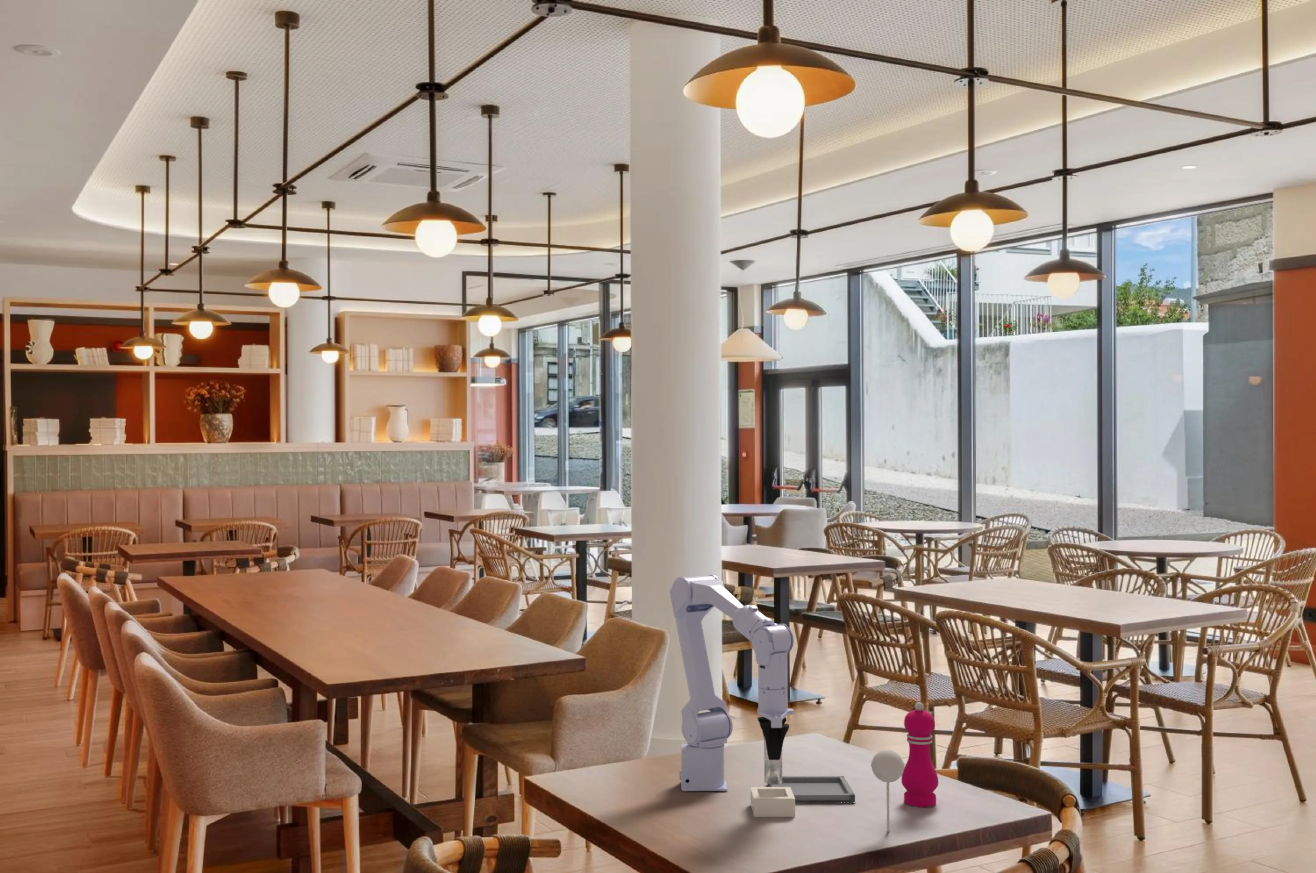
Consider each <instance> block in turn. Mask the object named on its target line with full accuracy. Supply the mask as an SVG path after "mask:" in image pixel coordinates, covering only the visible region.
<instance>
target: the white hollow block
mask: <svg viewBox="0 0 1316 873" xmlns="http://www.w3.org/2000/svg"><path fill="white" fill-rule="evenodd" d="M750 807H751V811H752V814H753V817H754V818H796V803H795V797H794V795H793V792H792V790H791V788H790V787H769V786H755V787H754V786H751V787H750Z"/></svg>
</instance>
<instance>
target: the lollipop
mask: <svg viewBox="0 0 1316 873" xmlns="http://www.w3.org/2000/svg"><path fill="white" fill-rule="evenodd" d="M870 762H871V763H870V767H871V770H872V773H873V775H874V776H875V777H876V778H877V779H878V780H879V781H880V782H884V783H886V833H890V831H891V830H890V783H894V782H896V781H898V780H899V779H901V778H902V774H903V771H904V768H905V762H904V760H903V758H902V756H901V754H899V753H898V752H897V751H895V750H892V749H886V748H885V749H881V750H879V751H878V752H876V753H875V754H874V755H873V757H872V760H871V761H870Z"/></svg>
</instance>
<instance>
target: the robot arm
mask: <svg viewBox="0 0 1316 873" xmlns="http://www.w3.org/2000/svg"><path fill="white" fill-rule="evenodd" d="M669 594H670V600H671V607H672V612H673V616H674V618H675V624H676V625H675V626H676V629H677V635H678V640H679V641H678V642H679V645H680V652H681V657H682V662H683V667H684V668H683V669H684V673H685V680H686V683H687V689H688V695H689V700H688V701H687V703H686V704H685V705H684V707H683V708H682V709H681V711H680V712H681V719H682V720H681V733H682V736H683V738H684V740H685V741H686V743H682V744H680V771H679V781H680V787H681V791H682V792H726V791H727V792H728V785H727V781H726V778H725V744H728V739H729V738H730V737H731V736H732V733H733V728H734V727H733V719H732V717H731V715H730V713H729V711H728V707H727V705H726V702H725V701H724V700H723V699H721V697H719V696H717V695H716V692H715V688H714V681H713V677H712V671H711V667H710V661H709V656H708V652H707V646H706V642H705V636H704V635H705V634H704V630H703V624H702V621H703V619H704V617H705V616H707V615H708V614H709V613H710V612H711V611H712V610H713V609H714V608H715V609H717V610H718V611H719V612H721V613H723V614H724V615H726V616H727V617H729V618H730V619H731V620H732V625H733V627H734V629H735V630H736V631H738V632H739V633H740V634H741V635H743V636H744V637H745V638H746V639H747V640H748V641H750V642H751V647H752V650H753V652H754V653H755V662H756V664H757V667H758V670H757V672H758V674H757V678H758V688H757V690H758V691H757V692H758V699H757V700H758V701H757V702H758V703H757V704H758V707H757V715H759V716H758V717H757V718H756V719H757V721H758V723H759V727H760V728H761V731H762V735H763V736H762V737H763V738H764V737H765V741H766V747H767V754H768V758H769V760H780V757H781V752H782V753H783V746H784V742H785V737H786V736H787V733H788V731H789V729H790V724H789V723H786V722H787V716H788V715H793V714H794V712H795V710H794V709H793V708H788V706H789V705H788V702H789V700H788V693H789V692H788V690H789V689H788V654H789V653H790V652H791V651H792V650H793V648H794V644H795V642H794V641H795V640H794V634H793V632H792V630H791V629H790V628H789V627H788V625H787V624H786V623H775V622H773V620H772V619H771V618H770V617H767V616H765V615H764V614H763V613H762V612H760V610H759V608H758V606H756V605H755V604H754V605H751V604H747V605H743V604H742V603H741V602H740V601H739V600H738V599H737V598H736V597H735V596H734V595H732V593H730V591H728V590H727V588H725V585H724V581H723V580H722V579H720V578H719V577H718V576H717V575H715V574H708V575H699V576H698V575H697V576H685V577H684V576H679V577H676V578H675V580H674V581H673V583H672V586H671V588H670V589H669ZM701 711H706V712H701ZM699 712H700V713H699Z"/></svg>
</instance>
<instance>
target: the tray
mask: <svg viewBox="0 0 1316 873" xmlns="http://www.w3.org/2000/svg"><path fill="white" fill-rule="evenodd" d="M768 787H790V788H791V790H792V792H793V795H794V797H795V804H854V803H853V802H855V803H856V795H855V793H854V791H853V789H852V787H851V786H850V784H849V783H848V781H847V780H846V777H845V776H844V775H788V776H787V775H782V783H781V784H777V785H771V784H769V785H768ZM841 802H842V803H841ZM844 802H845V803H844ZM847 802H849V803H847ZM850 802H852V803H850Z"/></svg>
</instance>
